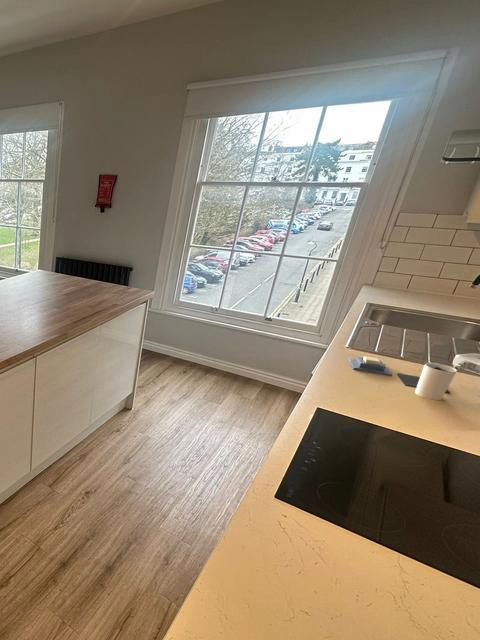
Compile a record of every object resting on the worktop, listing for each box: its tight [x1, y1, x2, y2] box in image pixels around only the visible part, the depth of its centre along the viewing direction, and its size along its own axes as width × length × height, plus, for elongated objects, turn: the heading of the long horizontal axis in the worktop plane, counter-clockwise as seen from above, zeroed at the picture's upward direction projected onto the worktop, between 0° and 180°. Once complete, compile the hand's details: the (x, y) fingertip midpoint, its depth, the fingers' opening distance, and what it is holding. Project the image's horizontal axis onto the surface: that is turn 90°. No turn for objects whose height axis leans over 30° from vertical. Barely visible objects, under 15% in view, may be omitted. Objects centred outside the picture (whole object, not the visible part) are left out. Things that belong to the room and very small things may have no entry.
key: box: [362, 355, 381, 365], centre depth 144 cm, size 4×4×2 cm
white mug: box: [414, 362, 458, 401], centre depth 124 cm, size 7×7×10 cm
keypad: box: [347, 356, 393, 377], centre depth 145 cm, size 10×10×2 cm
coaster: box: [396, 372, 451, 395], centre depth 133 cm, size 10×10×1 cm
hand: (473, 373), depth 123 cm, fingers open, 8 cm apart
